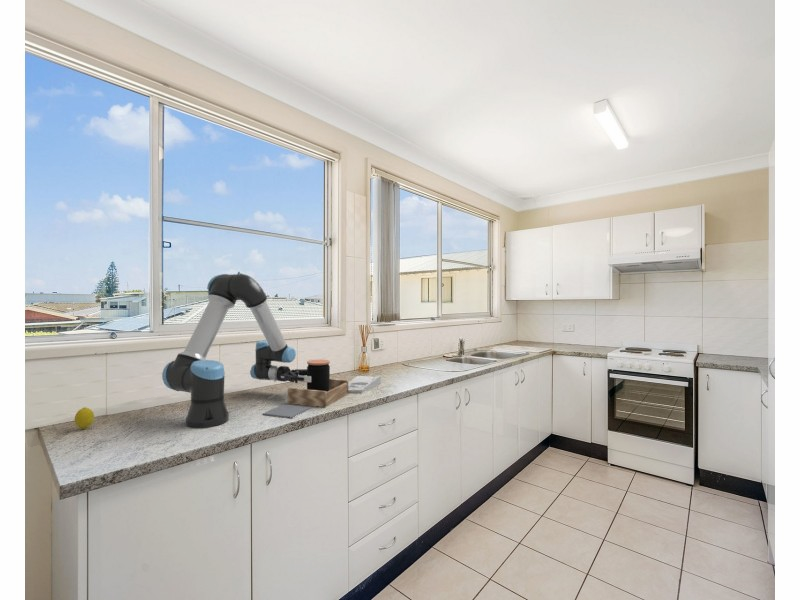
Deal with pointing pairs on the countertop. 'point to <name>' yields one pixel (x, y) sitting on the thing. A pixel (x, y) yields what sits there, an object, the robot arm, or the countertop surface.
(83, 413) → the lemon
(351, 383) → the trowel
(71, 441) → the countertop surface
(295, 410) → the rubber mat
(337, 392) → the wooden tray
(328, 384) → the coffee jar
